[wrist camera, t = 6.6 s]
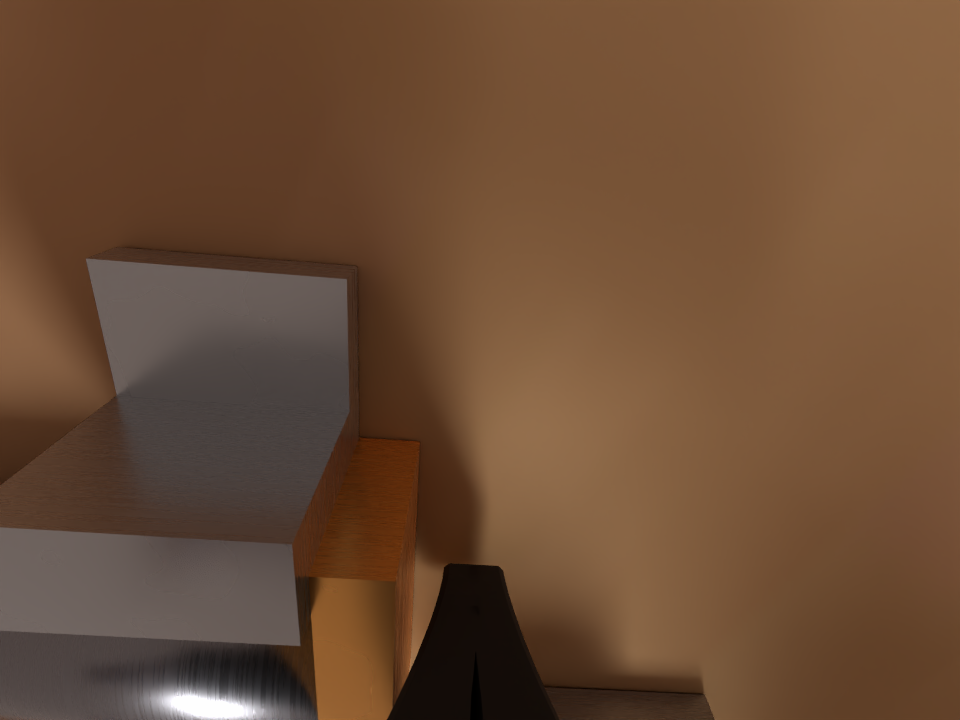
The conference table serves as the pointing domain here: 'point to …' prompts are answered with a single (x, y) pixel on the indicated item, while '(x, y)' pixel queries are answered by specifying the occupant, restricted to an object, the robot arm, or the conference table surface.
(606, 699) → the tab mount
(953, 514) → the conference table surface
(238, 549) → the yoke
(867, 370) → the conference table surface
